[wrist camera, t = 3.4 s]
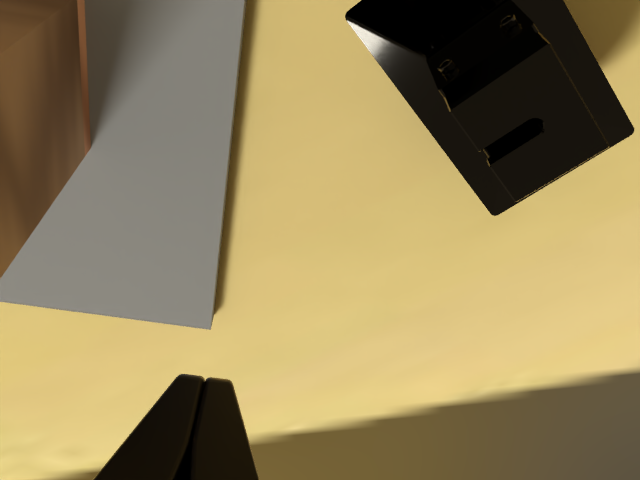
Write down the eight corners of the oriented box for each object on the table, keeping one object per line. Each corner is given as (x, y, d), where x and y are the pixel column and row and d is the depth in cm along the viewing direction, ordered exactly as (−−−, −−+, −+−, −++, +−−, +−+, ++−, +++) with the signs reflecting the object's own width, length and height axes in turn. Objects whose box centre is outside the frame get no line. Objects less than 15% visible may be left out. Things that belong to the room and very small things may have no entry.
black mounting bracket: (287, -17, 18) (278, 27, 15) (502, -202, 16) (558, -206, 12) (491, 245, 24) (522, 325, 20) (675, 140, 21) (750, 211, 18)
